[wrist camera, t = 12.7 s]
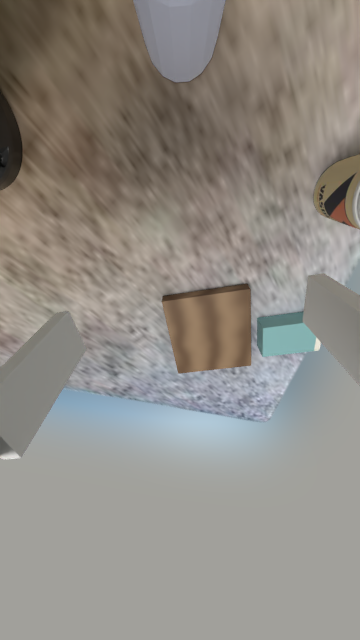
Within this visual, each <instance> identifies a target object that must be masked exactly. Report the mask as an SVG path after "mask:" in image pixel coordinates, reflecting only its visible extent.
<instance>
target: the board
mask: <svg viewBox="0 0 360 640" xmlns="http://www.w3.org/2000/svg"><path fill="white" fill-rule="evenodd" d="M162 304H163V309H164V313H165V317H166V322H167V326H168V330H169V335H170V339H171V343H172V348H173V352H174V356H175V361H176V365H177V370H178V373H187V372H196V371H205V370H214V369H223V368H232V367H241V366H250V365H251V296H250V288H249V286H248V284H242V285H235V286H228V287H222V288H215V289H208V290H201V291H194V292H187V293H181V294H174V295H167V296H163V299H162Z"/></svg>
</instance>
